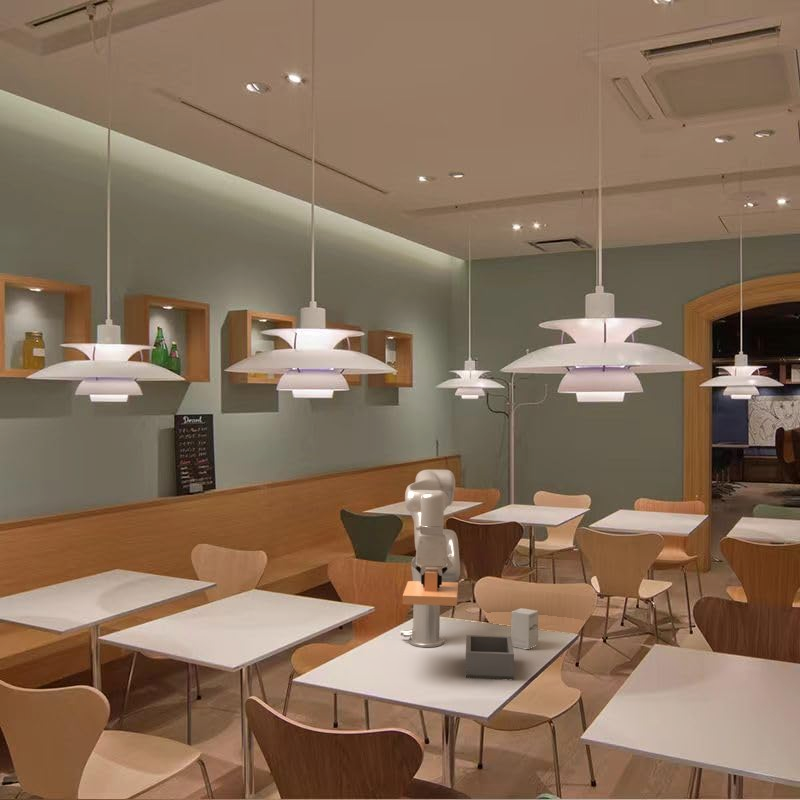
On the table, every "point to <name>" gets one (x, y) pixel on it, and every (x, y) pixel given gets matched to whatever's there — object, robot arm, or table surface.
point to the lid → (431, 591)
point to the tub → (489, 657)
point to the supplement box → (524, 628)
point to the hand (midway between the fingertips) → (431, 586)
